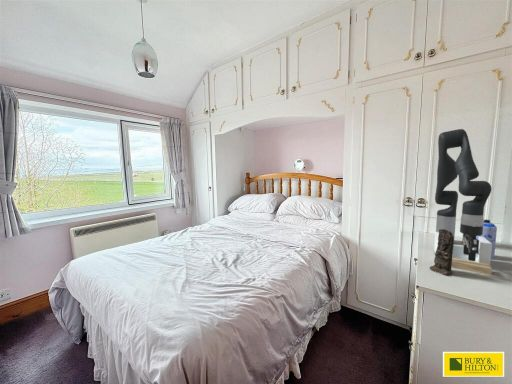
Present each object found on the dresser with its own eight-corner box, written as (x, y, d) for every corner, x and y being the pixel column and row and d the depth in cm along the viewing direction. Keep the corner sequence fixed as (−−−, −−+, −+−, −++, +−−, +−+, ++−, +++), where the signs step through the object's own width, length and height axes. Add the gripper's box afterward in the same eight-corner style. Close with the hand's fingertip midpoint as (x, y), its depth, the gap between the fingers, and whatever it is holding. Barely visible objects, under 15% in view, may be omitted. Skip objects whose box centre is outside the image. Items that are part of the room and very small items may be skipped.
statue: (429, 269, 103) (431, 228, 101) (438, 266, 105) (441, 226, 103) (445, 276, 96) (449, 232, 94) (455, 273, 99) (458, 230, 97)
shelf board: (448, 263, 109) (448, 257, 109) (488, 271, 100) (489, 264, 100) (449, 267, 105) (449, 260, 105) (491, 276, 96) (492, 268, 96)
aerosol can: (499, 259, 112) (502, 221, 110) (481, 258, 113) (484, 221, 111) (486, 254, 119) (489, 218, 117) (469, 253, 121) (472, 218, 119)
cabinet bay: (433, 252, 123) (435, 231, 122) (481, 259, 113) (483, 236, 112) (437, 260, 113) (439, 237, 112) (489, 268, 103) (492, 243, 102)
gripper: (457, 219, 108) (454, 251, 110) (464, 226, 97) (462, 261, 98) (477, 221, 104) (475, 254, 106) (488, 228, 93) (485, 264, 94)
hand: (468, 257), depth 102 cm, fingers open, 8 cm apart
